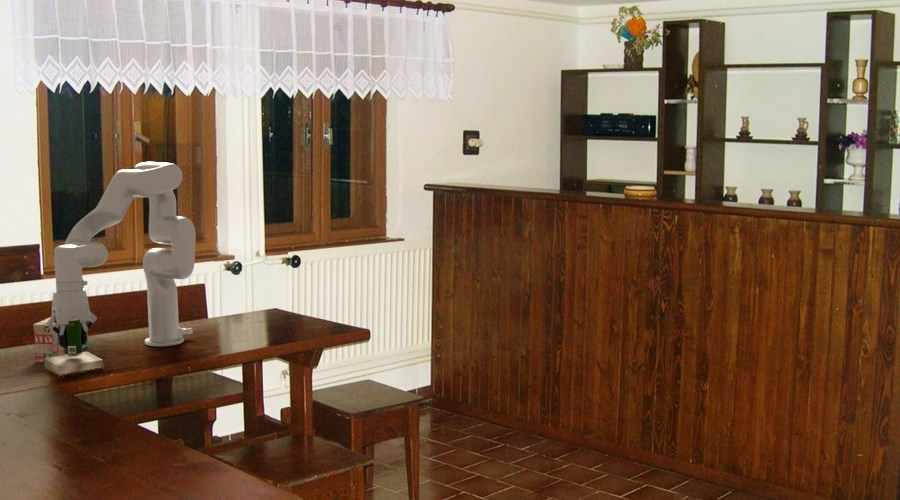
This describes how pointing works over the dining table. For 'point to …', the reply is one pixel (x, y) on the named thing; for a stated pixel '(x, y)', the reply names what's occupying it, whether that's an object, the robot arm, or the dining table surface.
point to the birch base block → (73, 363)
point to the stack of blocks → (47, 341)
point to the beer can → (73, 338)
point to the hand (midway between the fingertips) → (73, 345)
